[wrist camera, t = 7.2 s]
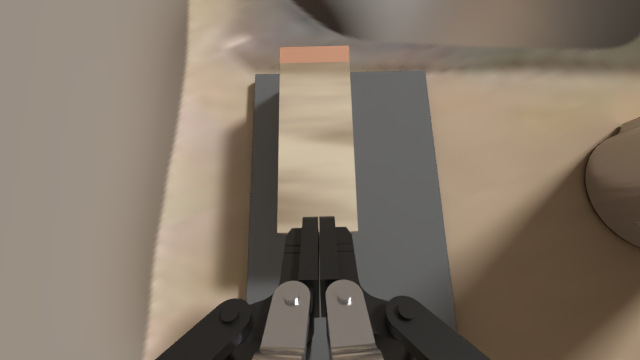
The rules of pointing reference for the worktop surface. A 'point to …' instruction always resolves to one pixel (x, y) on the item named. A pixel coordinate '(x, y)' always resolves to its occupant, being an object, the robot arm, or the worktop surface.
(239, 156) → the worktop surface
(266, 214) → the rubber mat
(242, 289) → the worktop surface
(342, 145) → the birch block
